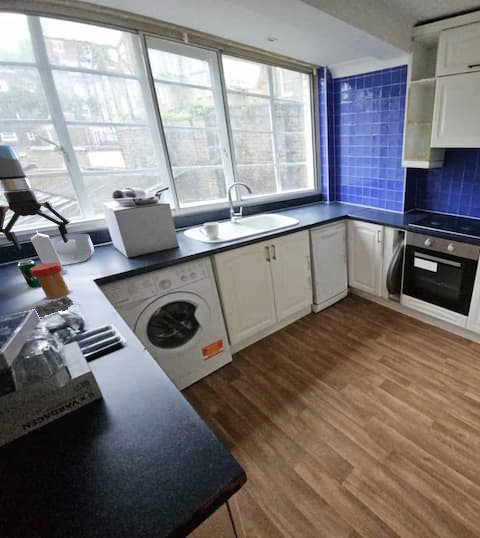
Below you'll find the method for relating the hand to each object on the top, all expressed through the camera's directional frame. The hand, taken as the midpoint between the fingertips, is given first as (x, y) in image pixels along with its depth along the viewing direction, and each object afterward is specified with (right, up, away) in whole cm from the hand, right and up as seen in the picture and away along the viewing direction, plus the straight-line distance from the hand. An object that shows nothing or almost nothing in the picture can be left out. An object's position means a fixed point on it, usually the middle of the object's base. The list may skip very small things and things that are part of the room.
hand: (43, 245), depth 117 cm
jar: (-2, -20, +7) cm, 22 cm away
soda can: (-20, -17, +16) cm, 31 cm away
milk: (-24, -12, +29) cm, 39 cm away
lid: (-2, -9, +2) cm, 9 cm away
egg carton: (+10, -26, -5) cm, 28 cm away
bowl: (-34, -4, +48) cm, 59 cm away
